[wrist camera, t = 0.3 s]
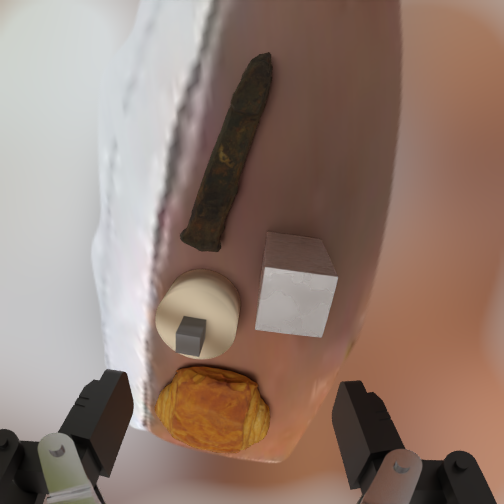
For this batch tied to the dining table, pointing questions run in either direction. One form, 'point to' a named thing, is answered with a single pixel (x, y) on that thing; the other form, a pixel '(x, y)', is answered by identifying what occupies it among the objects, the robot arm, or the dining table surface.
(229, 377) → the croissant
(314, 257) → the light grey block
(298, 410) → the dining table surface
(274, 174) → the dining table surface
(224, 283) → the cream rounded block
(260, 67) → the hand tool
